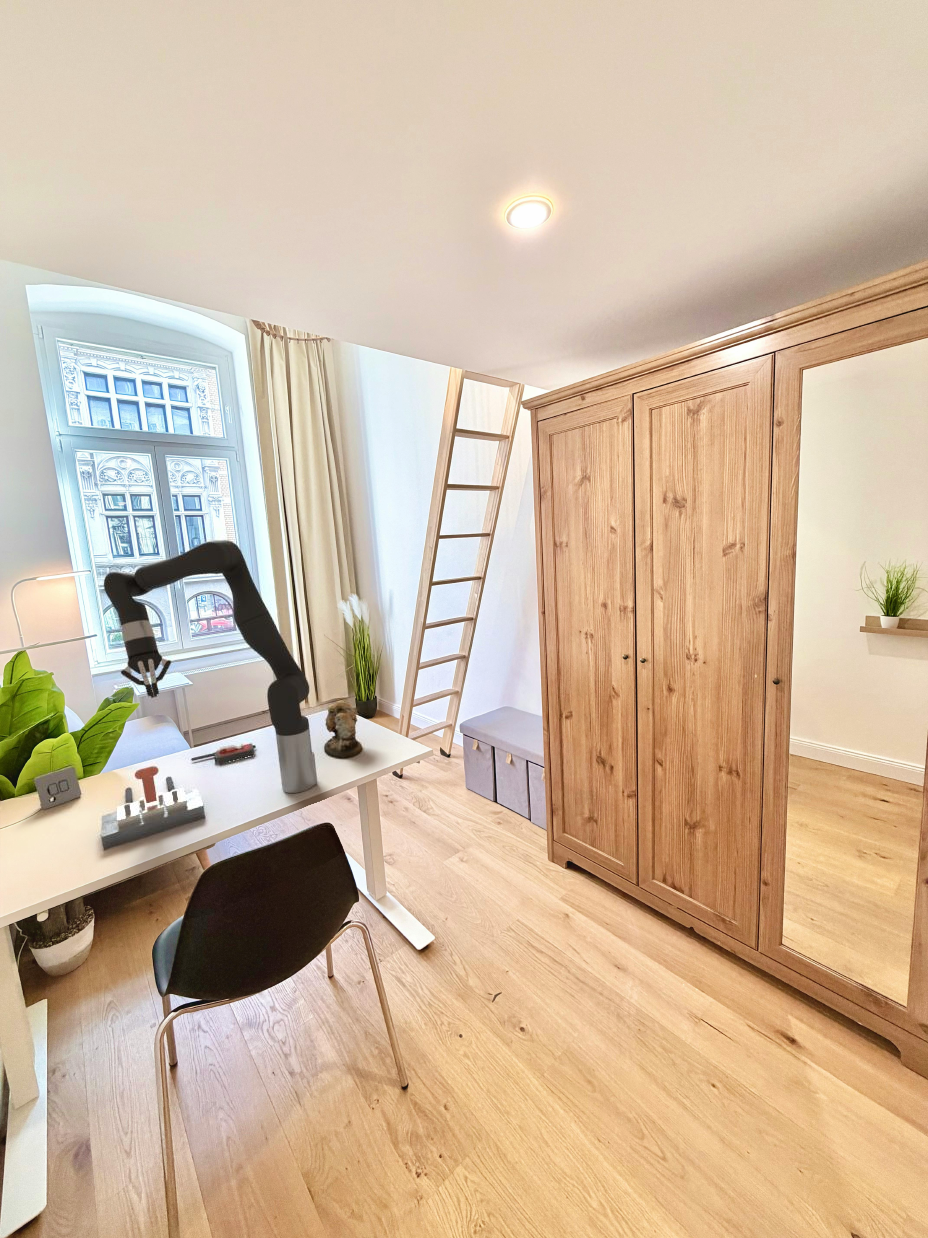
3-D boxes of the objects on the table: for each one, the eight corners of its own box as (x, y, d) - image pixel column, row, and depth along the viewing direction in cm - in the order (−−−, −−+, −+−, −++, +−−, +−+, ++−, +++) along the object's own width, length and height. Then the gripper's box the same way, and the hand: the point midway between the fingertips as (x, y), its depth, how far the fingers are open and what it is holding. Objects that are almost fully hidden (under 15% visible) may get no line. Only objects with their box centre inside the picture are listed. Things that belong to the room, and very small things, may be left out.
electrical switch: (42, 811, 140) (35, 779, 139) (38, 807, 144) (31, 776, 143) (82, 797, 148) (76, 766, 147) (77, 793, 151) (71, 764, 150)
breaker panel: (198, 799, 142) (194, 773, 141) (205, 817, 132) (201, 789, 131) (104, 828, 130) (99, 800, 128) (103, 850, 120) (97, 820, 119)
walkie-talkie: (255, 747, 178) (191, 762, 168) (253, 735, 177) (189, 750, 168) (258, 756, 170) (192, 772, 161) (256, 744, 170) (190, 759, 160)
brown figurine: (315, 746, 175) (311, 699, 173) (347, 737, 182) (343, 692, 180) (337, 762, 161) (332, 711, 159) (370, 751, 168) (366, 703, 166)
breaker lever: (161, 793, 132) (157, 762, 125) (163, 800, 130) (158, 770, 124) (139, 799, 129) (133, 769, 122) (140, 807, 128) (134, 776, 121)
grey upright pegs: (173, 779, 155) (172, 771, 155) (180, 805, 139) (179, 796, 139) (123, 793, 148) (122, 785, 148) (125, 822, 132) (123, 813, 132)
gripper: (110, 642, 137) (126, 703, 136) (165, 631, 144) (180, 689, 143) (112, 646, 143) (127, 705, 142) (165, 636, 150) (179, 691, 149)
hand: (154, 697), depth 143 cm, fingers closed
